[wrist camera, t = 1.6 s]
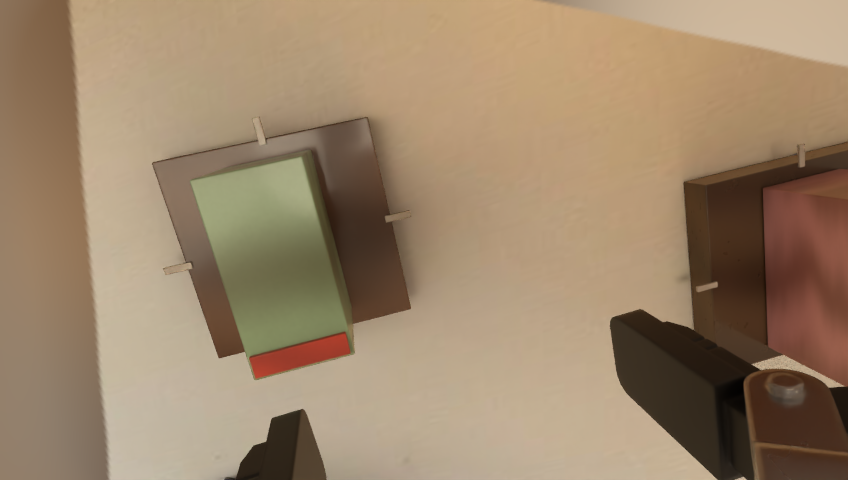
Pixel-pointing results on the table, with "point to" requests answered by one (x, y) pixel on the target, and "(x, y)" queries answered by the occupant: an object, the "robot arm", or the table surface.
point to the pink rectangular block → (808, 271)
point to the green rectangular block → (277, 262)
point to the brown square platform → (740, 247)
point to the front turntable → (346, 207)
